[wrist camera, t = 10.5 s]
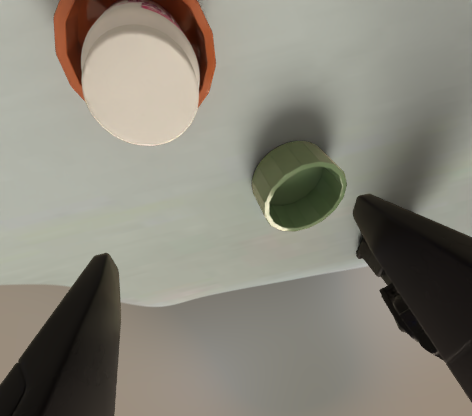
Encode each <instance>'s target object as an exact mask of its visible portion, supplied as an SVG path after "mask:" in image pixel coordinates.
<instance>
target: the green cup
mask: <svg viewBox="0 0 472 416" xmlns="http://www.w3.org/2000/svg"><path fill="white" fill-rule="evenodd" d="M346 186H347V182H346V178H345V174H344V171H343V170H342V169H341V168H340V167H339V166H338V165H337V164H336V163H335V162H334V161H333V160H332V159H331V158H330V157H329V156H328V155H327V154H326V153H325V152H324V151H323V150H321V149H320V148H319V147H318V146H317V145H315V144H313V143H311V142H307V141H293V142H289V143H286V144H283V145H281V146H279V147H277V148H275V149H274V150H272V151H271V152H270V153H268V154H267V155H266V156H265V157H264V158H263V159H262V161H261V162H260V163H259V165H258V166H257V168H256V170H255V172H254V175H253V179H252V189H253V194H254V196H255V198H256V200H257V202H258V204H259V206H260V208H261V210H262V212H263V214H264V216H265V218H266V219H267V221H268V222H269V224H270V225H271V226H273V227H275V228H277V229H279V230H281V231H298V230H302V229H306V228H310V227H312V226H314V225H315V224H317V223H319V222H321V221H323V220H324V219H325V218H326V217H328V216H329V215H330V214H331V213H332V212H333V211H334V210H335V209H336V208H337V206H338V205H339V203H340V202H341V200H342V199H343V197H344V194H345V190H346Z"/></svg>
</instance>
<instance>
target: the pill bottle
mask: <svg viewBox="0 0 472 416" xmlns="http://www.w3.org/2000/svg"><path fill="white" fill-rule="evenodd" d="M81 70H82V79H81V82H82V91H83V96H84V99H85V102H86V104H87V106H88V108H89V110H90V112H91V114H92V115H93V117H94V118H95V119H96V121H97V122H98V123H99V124H100V125H101V126H102V127H103V128H104V129H105V130H107V131H108V132H109V133H111V134H112V135H114V136H115V137H117V138H119V139H121V140H123V141H126V142H128V143H132V144H136V145H143V146H154V145H160V144H164V143H167V142H170V141H172V140H174V139H175V138H177V137H179V136H180V135H181V134H182V133H184V131H185V130H186V129H187V128H188V127H189V126H190V124H191V123H192V121H193V119H194V117H195V114H196V112H197V108H198V103H199V83H200V73H199V66H198V61H197V58H196V55H195V52H194V50H193V48H192V46H191V44H190V42H189V40H188V39H187V37H186V36H185V34H184V33H183V31H182V30H181V28H180V27H179V25H178V23H177V22H176V20H175V19H174V18H173V16H172V15H171V14H170V13H169V12H168V11H167V10H166V9H165V8H164V7H162V6H161V5H159V4H158V3H156V2H154V1H152V0H118V1H116V2H114V3H113V4H112V5H110V6H109V7H108V8H107V9H106V10H105V12H104V13H103V14H102V15H101V16H100V17H99V18H98V19H97V21H96V22H95V23H94V24H93V25H92V27H91V28H90V30H89V31H88V33H87V35H86V38H85V40H84V43H83V47H82V53H81Z"/></svg>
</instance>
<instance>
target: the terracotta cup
mask: <svg viewBox="0 0 472 416" xmlns="http://www.w3.org/2000/svg"><path fill="white" fill-rule="evenodd" d="M116 1H118V0H60V1H59V4H58V6H57V8H56V11H55V13H54V17H53V18H54V34H55V50H56V55H57V57H58V59H59V61H60V64H61V66H62V68H63V70H64V72H65V75H66V77H67V79H68V81H69V83H70V85H71V87H72V88H73V89H74V90H75V91H76V92H77V93H78V94H79V95H80V96H81V98H82V99H83V100H84V101H85V99H84V96H83V91H82V82H81V79H82V70H81V53H82V47H83V43H84V40H85V38H86V35H87V33H88V31H89V30H90V28H91V27H92V25H93V24H94V23H95V22H96V21H97V19H98V18H99V17H100V16H101V15H102V14H103V13H104V12H105V10H106V9H107V8H108V7H109V6H110V5H112V4H113V3H114V2H116ZM152 1H154V2H156V3H158V4H159V5H161V6H162V7H164V8H165V9H166V10H167V11H168V12H169V13H170V14H171V15H172V16H173V18H174V19H175V20H176V22H177V23H178V25H179V27H180V28H181V30H182V31H183V33H184V34H185V36H186V37H187V39H188V40H189V42H190V44H191V46H192V48H193V50H194V52H195V55H196V58H197V61H198V66H199V73H200V83H199V103H198V107H199V106H200V104H201V103H202V101H203V100H204V99H205V97H206V96H207V94H208V93H209V91H210V87H211V83H212V79H213V75H214V71H215V67H216V65H215V64H216V59H215V50H214V41H213V33H212V30H211V28H210V26H209V24H208V22H207V20H206V18H205V16H204V13H203V11H202V9H201V7H200V5H199V3H198V1H197V0H152Z"/></svg>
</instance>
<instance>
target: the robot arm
mask: <svg viewBox="0 0 472 416" xmlns="http://www.w3.org/2000/svg"><path fill="white" fill-rule="evenodd" d="M353 217H354V219H355V221H356V223H357V225H358V227H359V229H360V231H361V233H362V235H363V239H362V241H361V244H360V247H359V250H358V252H357V255H356V256H357V257H358V259H361V258H363V259H364V260H365V261H366V263H367V264H368V265H369V267H370V268H371V269H372V270H373V272H374V273H375V274H376V275H377V276H378V277H380V276H381V277H382V279H383V280H384V281H385V283H386V284H387V285H388V286H386V287H385V288H382V289H380V293H381V294H382V298H383V299H384V301H385V303H386V305H387V306H388V308H389V309H390V311H391V313H392V315H393V316H394V319H395V321H396V323H397V325H398V328H399V329H400V330H401V331H402V332H406V333H407V334H409V335H410V336H411V337H412V338H413V339H414V340H416V341H417V342H419V343H420V345H421V346H422V347H423V348H424V349H425V350H427V351H428V352H430V353H432V354H434V355H435V356H437V357H439V358H440V359H442V360H444V361H445V362H446V365H447V366H448V368H449V369H450V370H451V372H452V374H453V375H454V377H455V378H456V380H457V381H458V383H459V384H460V385H461V387H462V389H463V390H464V392H465V393H466V395H467V396H468V398H469V399H470V400H471V402H472V237H470V236H468V235H465V234H463V233H461V232H458V231H456V230H454V229H451V228H449V227H447V226H444V225H442V224H440V223H437V222H435V221H432V220H430V219H428V218H425V217H423V216H421V215H418V214H416V213H414V212H411V211H409V210H407V209H404V208H402V207H400V206H397V205H395V204H393V203H390V202H388V201H386V200H383V199H381V198H379V197H376V196H374V195H372V194H364V195H360V196H358V197H357V200H356V203H355V206H354V210H353ZM120 325H121V303H120V285H119V271H118V268H117V266H116V265H115V263H114V261H113V260H112V258H111V256H110V255H109V254H108V253H104V254H100V255H96V256H94V257H93V258H92V260H91V261H90V263H89V264H88V265H87V267H86V268H85V269H84V271H83V272H82V273H81V275H80V276H79V278H78V279H77V280H76V282H75V283H74V284H73V286H72V287H71V289H70V290H69V292H68V293H67V294H66V296H65V297H64V298H63V300H62V301H61V302H60V304H59V305H58V306H57V308H56V309H55V311H54V312H53V314H52V315H51V316H50V318H49V319H48V320H47V322H46V323H45V324H44V326H43V327H42V329H41V330H40V331H39V333H38V334H37V335H36V337H35V338H34V339H33V341H32V342H31V344H30V345H29V346H28V348H27V349H26V351H25V352H24V353H23V355H22V356H21V357H20V359H19V361H18V362H19V363H16V364H15V365H14V367H13V368H12V370H11V371H10V372H9V374H8V375H7V376H6V378H5V379H4V380H3V382H2V383H1V384H0V416H114V412H115V398H116V383H117V369H118V355H119V341H120V340H119V339H120Z"/></svg>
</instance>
